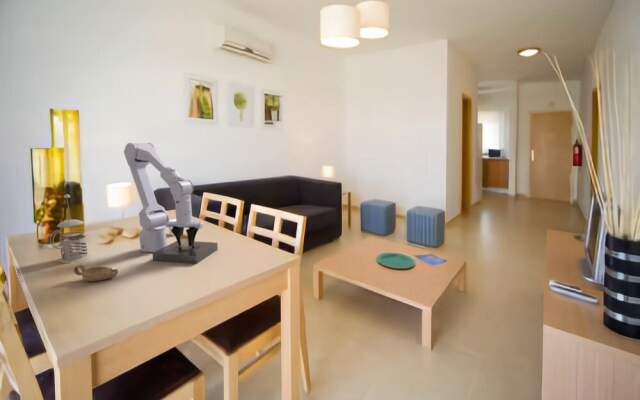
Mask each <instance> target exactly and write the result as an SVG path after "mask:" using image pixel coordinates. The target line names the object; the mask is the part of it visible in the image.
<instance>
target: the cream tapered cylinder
mask: <svg viewBox="0 0 640 400" xmlns="http://www.w3.org/2000/svg"><path fill="white" fill-rule="evenodd" d="M169 221H176V218H173V219H172V218H170V219H169ZM171 229H173V227H168V231H169V235H170V236H173V237H175V235H174V234H173V233H172V231H171Z"/></svg>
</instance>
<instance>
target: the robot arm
mask: <svg viewBox="0 0 640 400" xmlns="http://www.w3.org/2000/svg"><path fill="white" fill-rule="evenodd" d="M123 154H124V156H125V159H126V163H127V165H128V166H129V169H130V173H131V176H132V179H133V182H134V184H135V187H136V190H137V193H138V196H139V200H140V202H141V205H142V209H141V210H140V211H139V213H138V216H139V217H138V218H139V225H140V226H141V230H140V232H139V235H138V236H139V246H140V249H139V250H138V251H139V252H143V253H144V252H146V253H147V252H149V253H153V252H155V251H157V250H159V249H162V248H164V247H166V246H168V245H169V244H167V233H166V228H169V227H173V229H171V231H172V233H173V234H174V235H175V236H174V238H175V239H176V241H177V242H178V244H179V246H181V243H180V235H184V232H186V234H187V235H188V241H189V246H192V245H194V241H195V239H196V236H197V233H198V231H199V230H201V229H203V228H204V222H198V221H194V220H193V212H192V211H193V210H192V195H191V194H193V192H194V185H193V182H191V180H189V179H186V178H184V177H183V176H181V174H180V173H178V171H177V170H176V168H174V167H172V166H168V165H167V164H166V163H165V161H164V160H163V158H162V157H161V156H160V155H159V154H158V148H157V147H156V146H155V145H154V144H153V143H151V142H147V143H146V142H145V143H141V142H140V143H138V142H137V143H136V142H135V143H133V142H129V143H126V145H125V146H124V151H123ZM149 164H151V165H152V166H153V167H154V168H155V169H156V170H157V171H159V172H160V174H159V175H160V178H161V179H162V180H163V181H164V182H165V184H167V185H168V187H170V189H169V190H170V193H171V195H172V199H173V201H174V204H175V205H174V207H175V219H176V221H169V220H170V217H169V214H168V213H167V210H166V209H165V207H164V206H163V205H160V204H158V202H157V197H156V196H155V193H154V190H153V185H152V184H151V181H150V178H149V175H148V172H147V168H146V167H147V166H148V165H149ZM185 228H187V229H185ZM184 229H185V231H184Z"/></svg>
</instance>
